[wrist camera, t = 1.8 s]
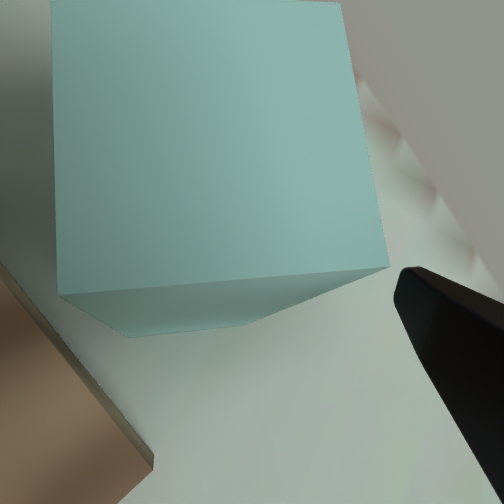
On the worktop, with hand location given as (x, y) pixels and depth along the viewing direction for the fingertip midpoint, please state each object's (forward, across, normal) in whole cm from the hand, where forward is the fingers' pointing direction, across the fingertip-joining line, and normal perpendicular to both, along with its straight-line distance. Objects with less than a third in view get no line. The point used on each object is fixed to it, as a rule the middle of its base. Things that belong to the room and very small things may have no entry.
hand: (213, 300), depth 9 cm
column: (+9, 0, +5) cm, 10 cm away
